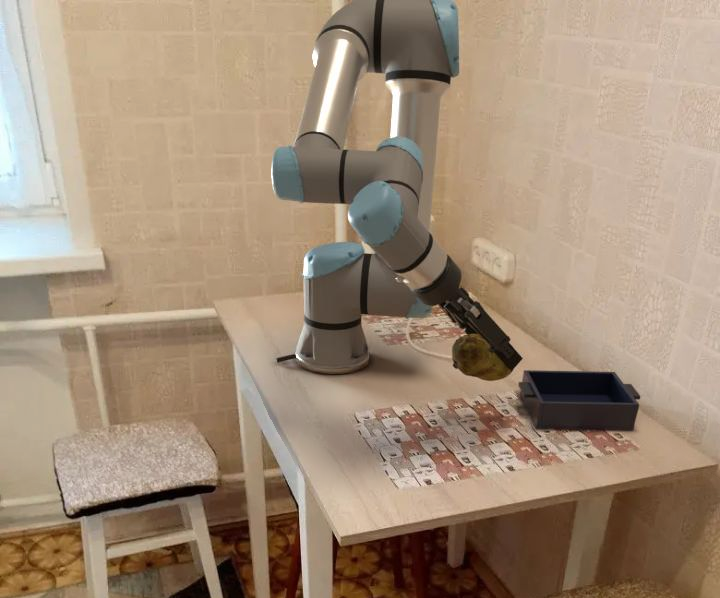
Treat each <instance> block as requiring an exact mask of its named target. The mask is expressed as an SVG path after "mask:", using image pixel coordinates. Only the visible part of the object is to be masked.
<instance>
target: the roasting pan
mask: <svg viewBox="0 0 720 598" xmlns="http://www.w3.org/2000/svg"><path fill="white" fill-rule="evenodd" d="M521 382H528V383H529V385H530V387H531V389H532V391H533V393H534V398H524V396H523V394H522V392H521V391H520V392H519V395H520V398H521V399H522V402H523V404H524V406H525V408H526V410H527V413H528V415H529V417H530V419H531V421H532V423H533V426H534V428H535V429H536V430H579V431H580V430H582V431H583V430H585V431H587V430H588V431H590V430H591V431H634V429H635V424H636V420H637V416H638V412H639V408H640V404H639V402H638V400H637V399H635V398H634V397H633V395H632V394H631V393H630V392H629V390H628V389H627V388H626V386H625V385H624V384H625V383H624V382H623V380H622V379H621V378H620V376H619V375H618V374H617V372H616V371H594V370H593V371H591V370H590V371H589V370H584V371H583V370H582V371H581V370H580V371H579V370H535V369H533V370H529V369H524V370H523V373H522V380H521Z"/></svg>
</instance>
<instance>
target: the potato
mask: <svg viewBox="0 0 720 598" xmlns="http://www.w3.org/2000/svg"><path fill="white" fill-rule="evenodd" d="M490 347H491V346H490V345H489V344H488V343H487V342H486V341H485V340H484V339H483V338H482V337H481V336H480V335H479V334H469V335H467V334H465V335H463V336H459V337H458V338H456V339H455V341H454V343H453V344H452V347H451V359H452V362H453V363H452V367H453V368H454V369H455V370H458V371H459V372H461V373H462V374H463V375H465V376H467V377H473V378H477V379H479V380H483V381H487V382H495V381H500V380H503V379H505V378H507V377H509V376H510V375H511V374H512V372H514V369H513V370H512V371H511V370H510V369H509V368H508V367H507V366H506V365H505V364H504V363H503V362H502V361H501V360H500V358H499V357H498V356H497V355H496V354H495V353H493V354H492V353H491V352H490V351H488V350H489V349H490Z"/></svg>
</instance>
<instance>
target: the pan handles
mask: <svg viewBox="0 0 720 598" xmlns="http://www.w3.org/2000/svg"><path fill="white" fill-rule="evenodd" d="M623 384H624V385H625V386H626V388H627V389H628V390H629V392H630V393H631V394H632V395H633V397H634V398H635V399H636V401H638V400H641V394H640V393H639V392H638V391H637V390H636V388H635V387H634V386H633V384H632V383H623ZM517 385H518V388H519V390H520V392H522V394H523V396H524V398H534V393H533V391H532V389H531V387H530V385H529V383H528V382H522V381H518V384H517Z"/></svg>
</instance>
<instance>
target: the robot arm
mask: <svg viewBox="0 0 720 598" xmlns="http://www.w3.org/2000/svg"><path fill="white" fill-rule="evenodd" d="M459 30H460V29H459V10H458V5H457V4H456V3H455V2H454V1H453V0H352V1H350V2H349V3H347V4H345V5H343V6H342V7H341V8H339V9H338V10H337V11H336V12H334V13H333V15H331V16H330V17H329V19H328V20H327V21H326V22H325V24H324V25H323V26H322V28H321V29H320V31H319V33H318V35H317V36H316V40H315V43H314V47H313V50H312V60H313V66H314V70H313V74H312V77H311V81H310V85H309V88H308V91H307V96H306V99H305V103H304V106H303V110H302V114H301V117H300V121H299V125H298V128H297V132H296V136H295V139H294V143H293V145H291V144H289V145H288V146H279V147H277V148H275V150H274V151H273V156H272V159H271V184H272V189H273V192H274V195H275V196H276V198H278V199H279V200H282V201H291V202H299V203H300V204H304V203H308V204H309V203H310V204H332V205H335V204H337V205H349V206H348V211H347V219H348V222H349V225H350V226H351V227H352V228H353V230H354V231H355V232H356V233H357V235H358V236H359V237H360V239H361V240H362V242H363V243H364V244H366V245H367V246H369V248H370V249H371V250H372V251H373V252H374V253H367V252H366V251H365V248H364V246H363V244H361V243H359V242H354V241H337V242H331V243H325V244H321V245H318V246H315V247H313V248H311V249H310V250H309V251H307V252H306V254H305V255H304V257H303V273H302V274H301V275H302V279H303V285H302V286H303V325H302V329H301V333H300V336H299V339H298V341H297V345H296V347H295V353H293V354H288V355H283V356H280V357H275V359H276V363H282V362H285V361H290V360H294V359H295V362H296V364H297V365H298V366H300V367H301V368H303V369H305V370H307V371H310V372H314V373H318V374H325V375H343V374H350V373H355V372H357V371H360V370H362V369H363V368H365V367H366V366H367V365H368V364H369V362H370V351H371V344H372V343H371V342H369V344H368V342H367V339H366V336H365V332H364V329H363V324H362V316H363V315H365V316H376V317H377V316H378V317H394V318H405V320H407V319H425V318H427V317H428V316H430V315H431V313H432V311H433V307H434V306H438V307H439V308H440V309H441V310H442V312H443V313H444V314H445V315H446V316H447V318H449V320H450V321H451V323H452V324H455V325H456V324H457V326H458V327H459V329H461V330H463V332H464V333H465V335H469V334H479V335H480V336H481V337H482V338H483V339H484V340H485V341H486V342H487V343H488V344H489V345H490V346H491V347H490V349H489V350H488V351H490V352H491V353H492V354H493V353H495V354H496V355H497V356H498V357H499V358H500V360H501V361H502V362H503V363H504V364H505V365H506V366H507V367H508V368H509V369H510V370H511V371H512V370H513V371H514V369H515V368H517V366H518V365H519V364H520V363H521V361H523V357H522V355H521V354H520V353H519V352H518V351H517V350H516V348H514V346H513V345H512V344H511V343H510V342H511V340H512V339H511V337H510V336H509V335H508V334H507V333H505V331H504V330H503V329H502V328H501V327H500V326H499V325H498V324H497V323H496V321H495V320H494V319H493V318H492V317H491V316H490V315H489V314H488V312H486V310H485V309H484V307H483V305H481V303H480V302H479V301H476V300H473V299H472V297H471V296H470V295H469V292H468V291H467V290H465V288H464V287H462V286H460V285H461V281H462V271H461V269H460V267H459V266H458V264H456V262H455V261H454V260H453V259H452V258H451V256H450V255H449V254H447V251H446V249H444V247H443V246H442V245H441V244H440V243H439V241H438V240H437V239H436V237H434V235H433V234H432V233H431V219H432V209H433V195H434V183H435V171H436V158H437V145H438V135H439V134H438V133H439V121H440V109H441V108H440V107H441V99H442V96H444V95H445V93H447V92H448V90H450V88H451V79H452V78H455V77H458V76H459V75H460V35H459V34H460V33H459ZM367 73H368V74H369V73H370V74H372V73H373V74H385V78H384V79H385V80H384V82H385V83H384V85H385V86H386V88H387V89H388V91H389V92H390V93H391V95H392V102H391V104H392V105H391V119H390V120H391V121H390V134H389V136H390V137H389V138H387V139H384V140H382V141H381V142H380V143H379V144H378V145H377V148H376V149H375V150H362V149H361V150H359V149H345V145H346V142H347V141H346V140H347V136H348V131H349V127H350V121H351V117H352V113H353V108H354V104H355V99H356V95H357V89H358V85H359V82H360V81H361V80H362V79H363V78H364V77H365V75H366V74H367ZM513 371H512V372H513Z"/></svg>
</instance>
